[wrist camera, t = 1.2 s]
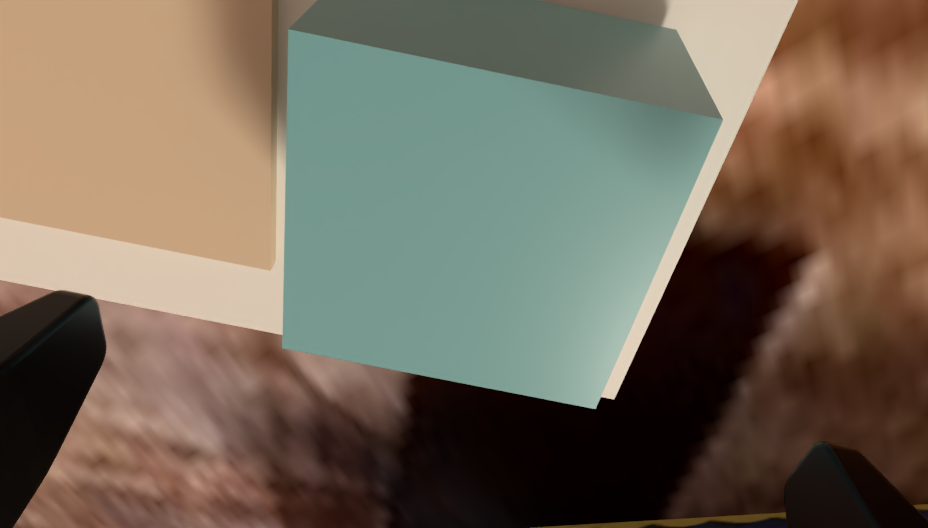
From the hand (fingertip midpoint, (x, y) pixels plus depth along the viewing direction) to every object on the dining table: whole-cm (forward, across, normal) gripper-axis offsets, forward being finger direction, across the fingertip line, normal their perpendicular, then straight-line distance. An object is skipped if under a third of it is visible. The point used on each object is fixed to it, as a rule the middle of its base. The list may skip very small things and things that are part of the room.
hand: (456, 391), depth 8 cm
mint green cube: (+7, 0, 0) cm, 7 cm away
